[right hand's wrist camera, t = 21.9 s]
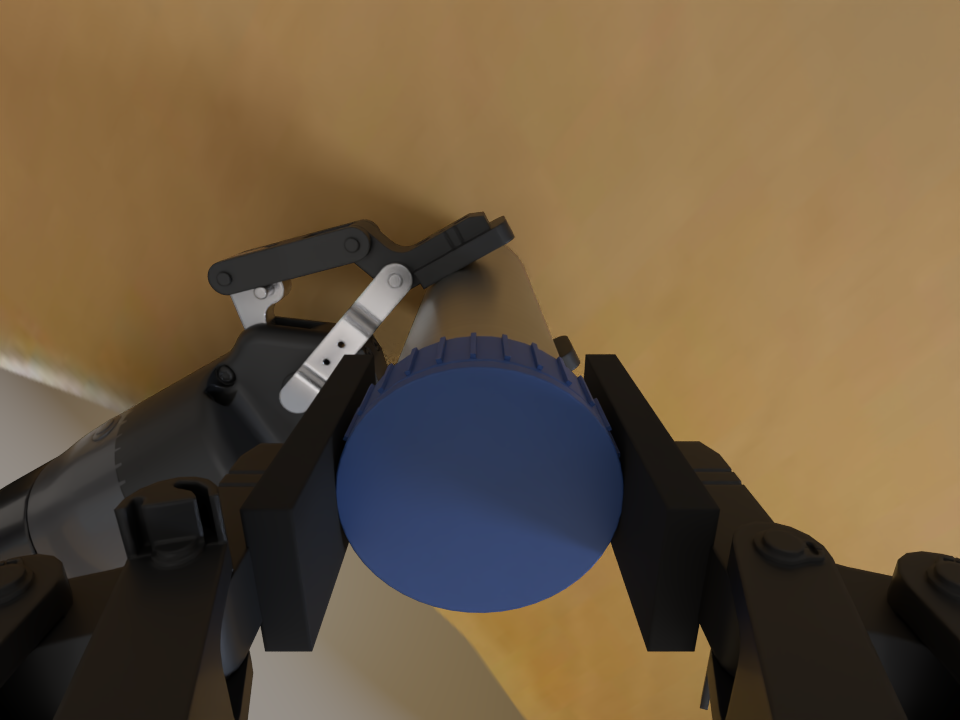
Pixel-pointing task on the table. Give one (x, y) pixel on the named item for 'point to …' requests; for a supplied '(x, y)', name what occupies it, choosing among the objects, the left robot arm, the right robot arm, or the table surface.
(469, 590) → the lid
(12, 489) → the left robot arm
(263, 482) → the right robot arm
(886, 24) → the table surface
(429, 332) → the jar
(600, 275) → the table surface
